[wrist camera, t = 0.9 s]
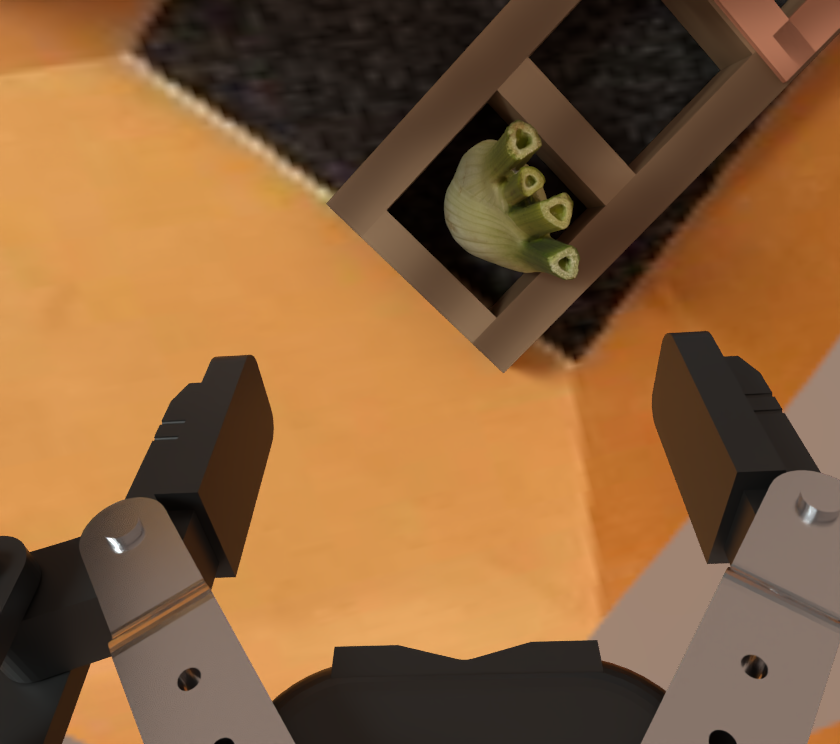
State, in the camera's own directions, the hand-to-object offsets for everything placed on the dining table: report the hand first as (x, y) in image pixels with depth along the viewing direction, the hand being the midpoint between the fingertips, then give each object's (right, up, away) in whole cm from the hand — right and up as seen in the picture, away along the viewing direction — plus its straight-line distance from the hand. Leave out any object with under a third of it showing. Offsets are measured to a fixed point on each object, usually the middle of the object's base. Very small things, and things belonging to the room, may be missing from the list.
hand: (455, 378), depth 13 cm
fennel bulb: (+3, +9, +22) cm, 23 cm away
